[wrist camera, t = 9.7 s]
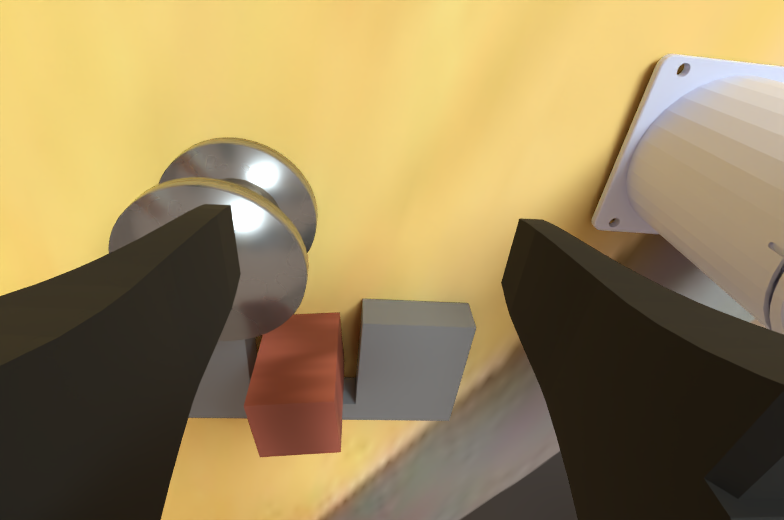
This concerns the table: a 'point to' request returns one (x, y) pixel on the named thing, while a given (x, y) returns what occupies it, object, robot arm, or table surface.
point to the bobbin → (239, 223)
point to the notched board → (368, 365)
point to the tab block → (298, 387)
